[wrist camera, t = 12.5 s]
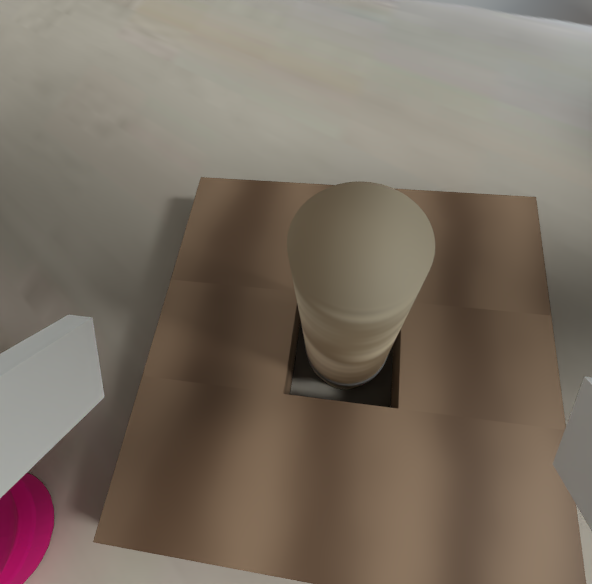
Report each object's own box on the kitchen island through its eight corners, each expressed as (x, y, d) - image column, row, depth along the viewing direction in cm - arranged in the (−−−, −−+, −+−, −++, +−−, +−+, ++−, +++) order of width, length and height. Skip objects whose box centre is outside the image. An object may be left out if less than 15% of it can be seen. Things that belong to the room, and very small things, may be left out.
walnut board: (515, 224, 28) (535, 197, 25) (554, 612, 19) (593, 636, 16) (212, 203, 30) (200, 177, 28) (123, 533, 22) (93, 542, 19)
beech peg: (382, 329, 25) (436, 184, 12) (379, 401, 23) (437, 317, 11) (312, 322, 26) (296, 176, 13) (303, 392, 24) (274, 301, 11)
